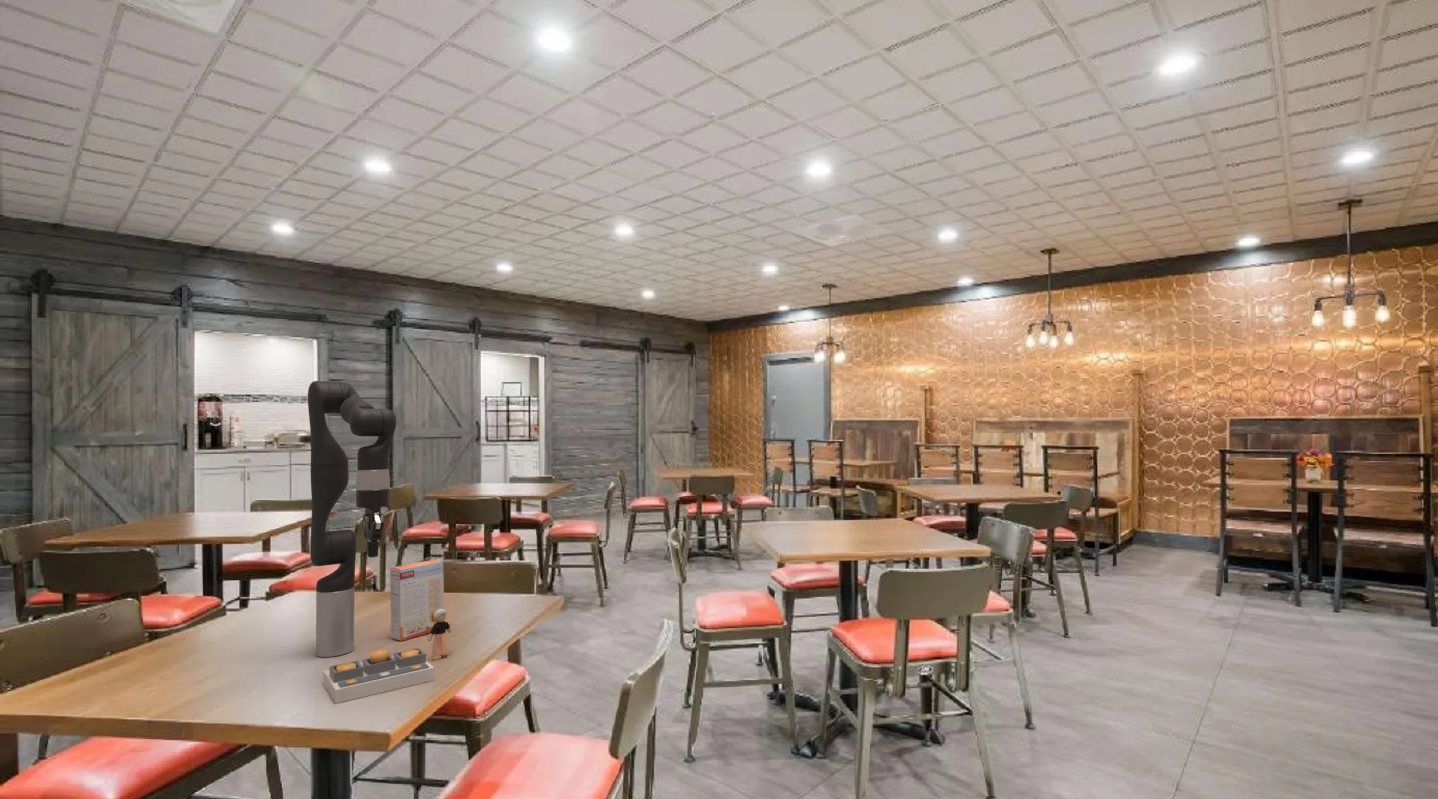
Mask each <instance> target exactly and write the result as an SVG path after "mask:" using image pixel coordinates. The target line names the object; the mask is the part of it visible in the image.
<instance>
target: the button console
mask: <svg viewBox="0 0 1438 799" xmlns="http://www.w3.org/2000/svg"><path fill="white" fill-rule="evenodd" d="M408 650H409V649H407V650H406V651H408ZM411 650H418V651H419V655H414V656H409V657H405V658H401V653H402V652H404V651H405V650H402V651H398V652H397V651H396V652H394V653H393V656H392V655H391V654H390V653H388V660H386V661H383V662H378V663H371V662H370V657H369V658H363V659H362V662H360V661H359V660H355V661H348V663H356V668H353V669H348V670H344V671H339V672H337V666H339V665H341V664H342V663H339V664H335V665H330V666H329V669H325V670H323V673H322V674H323V675H322V676H323V677H322V679H323V680H322V681H323V683H322V684H323V685H324V687H325V688H326V690H327V692H328V694H329V696H330V697H331V699H332V700H333V702H334V704H339V703H343V702H348V701H353V700H357V699H361V698H365V697H369V696H373V695H377V694H381V693H382V694H383V693H386V692H390V691H394V690H399V689H402V688H407V687H411V686H415V685H419V684H424V683H427V682H431V681H435V667H434V666H433V665H432V664H431V663H430V662H428V661H427V653H426V652H425V651H424V650H422V648H420V647H416V648H412V649H411ZM345 663H346V662H345ZM345 663H343V664H345Z"/></svg>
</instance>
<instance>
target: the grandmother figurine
mask: <svg viewBox="0 0 1438 799" xmlns="http://www.w3.org/2000/svg"><path fill="white" fill-rule="evenodd" d="M447 612H448V611H447V610H446V609H445V608H444V609H438V610H437V611H435V613H434V618H435V619H436V621H437V623H435V624H434V626H433V627H432V629H431V631H430V633H428V634H429V635H428V638H427V639H426V640H427V641H428V642H431V641H432V639H433V642H432V650H431V651H432V653H431V654H432V655H431V658H430V659H431V660H432V661H437V660H441V658H444V657H443V656H445V657H447V656H448V652H449V651H448V642H447V635H446V634H447V633H448V634H450V633H451V632H452V629H451V626H450V624H449V622H448V621H446V618H447V615H448V614H447ZM446 632H447V633H446ZM433 636H434V638H433ZM440 656H441V657H440Z"/></svg>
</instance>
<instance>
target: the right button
mask: <svg viewBox="0 0 1438 799" xmlns="http://www.w3.org/2000/svg"><path fill="white" fill-rule="evenodd" d="M407 650H408V651H407ZM407 650H403V651H404V652H402V651H401V652H402V653H401V658H405V657H409V656H414V655H419V651H418V650H412V649H407Z"/></svg>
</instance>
